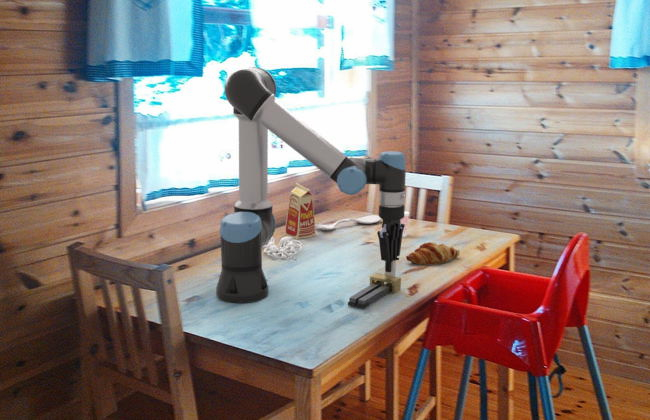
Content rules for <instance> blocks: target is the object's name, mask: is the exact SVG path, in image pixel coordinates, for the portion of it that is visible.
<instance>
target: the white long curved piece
mask: <svg viewBox="0 0 650 420" xmlns="http://www.w3.org/2000/svg"><path fill="white" fill-rule="evenodd" d="M381 220H382V218H380V217H379V214H378V215H377V214H373V215H371V214H370V215H366V216H363V217H358V218H349V217H348V218H343V219H339V220H337V221H335V222H334V223H331V224H318V223H315V229H318V230H322V231H331V230H333V229H335V227H336V226H338V225H339V224H341V223H348V222H355V223H358V224H363V225H371V224H375V223H377V222H380V221H381Z"/></svg>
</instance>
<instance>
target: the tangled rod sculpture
mask: <svg viewBox="0 0 650 420" xmlns="http://www.w3.org/2000/svg"><path fill="white" fill-rule="evenodd" d="M275 242H276V239H275V238H274V235H273V236H272V237H271V239H270V240H269V241H268V242H267V243H266V244H265V245H264V246H263V247H262V248H263V253H264V254H267V256H270V257H272V258H273V259H274V258H277V259H281V260H286V259H288V260H290V259H292V258H294V256H295V255H296V254H297V253H298V252H300V251H302V250H303V247H302V245H303V243H302V242H301V241H300V240H294V238H292V237H288V236H284V237H283V236H282V237H281V238H280V240H279V243H278V245H276V244H275ZM296 248H299V249H296ZM278 255H279V256H278ZM286 255H287V256H286Z"/></svg>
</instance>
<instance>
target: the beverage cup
mask: <svg viewBox="0 0 650 420" xmlns="http://www.w3.org/2000/svg"><path fill="white" fill-rule="evenodd" d="M409 215H410V212H409V211H406V210H404V218H402V219H400V221H401V222H400V223H401V224H404V225H405V226H404V230H403V234H402V238H405V237H407V236H408V235H407V234H408V223H409Z"/></svg>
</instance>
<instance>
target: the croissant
mask: <svg viewBox="0 0 650 420" xmlns="http://www.w3.org/2000/svg"><path fill="white" fill-rule="evenodd" d="M460 253H461V252H460V250H459V249H456V248H454V247H453V246H451V247H449V246H447V245H445V244H443V243H441V244H437V243H436V242H431V241H430V242H424V243H422V244H420V245H419V247H417V248H416V249H415V250H414V251H412V252H410V253H409V254H408V255H406V256H405V259H406V261H408V262H410V263H413V264H417V265H422V266H423V265H437V264H444V263H446V262H448V261H451V260H453V259H455V258H457V257H459V256H460Z"/></svg>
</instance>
